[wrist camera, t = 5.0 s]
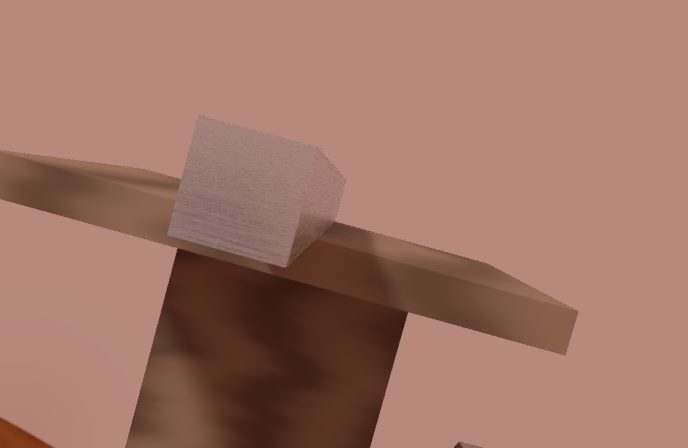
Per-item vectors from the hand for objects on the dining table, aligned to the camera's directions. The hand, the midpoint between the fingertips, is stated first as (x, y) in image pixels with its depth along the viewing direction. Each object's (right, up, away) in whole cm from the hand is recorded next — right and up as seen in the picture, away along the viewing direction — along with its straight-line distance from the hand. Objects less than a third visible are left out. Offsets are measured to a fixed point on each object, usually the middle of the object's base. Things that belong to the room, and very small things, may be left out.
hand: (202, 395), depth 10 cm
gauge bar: (0, +3, +13) cm, 13 cm away
